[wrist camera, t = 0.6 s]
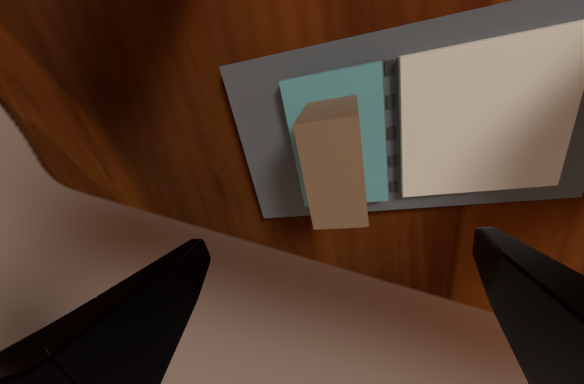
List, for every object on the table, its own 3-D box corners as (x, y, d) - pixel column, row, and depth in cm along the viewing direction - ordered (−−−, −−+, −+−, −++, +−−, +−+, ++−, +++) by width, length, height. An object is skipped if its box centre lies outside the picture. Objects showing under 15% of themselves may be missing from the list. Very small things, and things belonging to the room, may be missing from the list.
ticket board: (631, -26, 14) (672, -35, 12) (569, 188, 19) (590, 203, 17) (226, 65, 19) (214, 68, 17) (267, 210, 25) (261, 223, 23)
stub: (380, 60, 16) (394, 71, 11) (387, 195, 20) (399, 247, 15) (281, 80, 18) (254, 97, 13) (306, 201, 22) (293, 251, 17)
